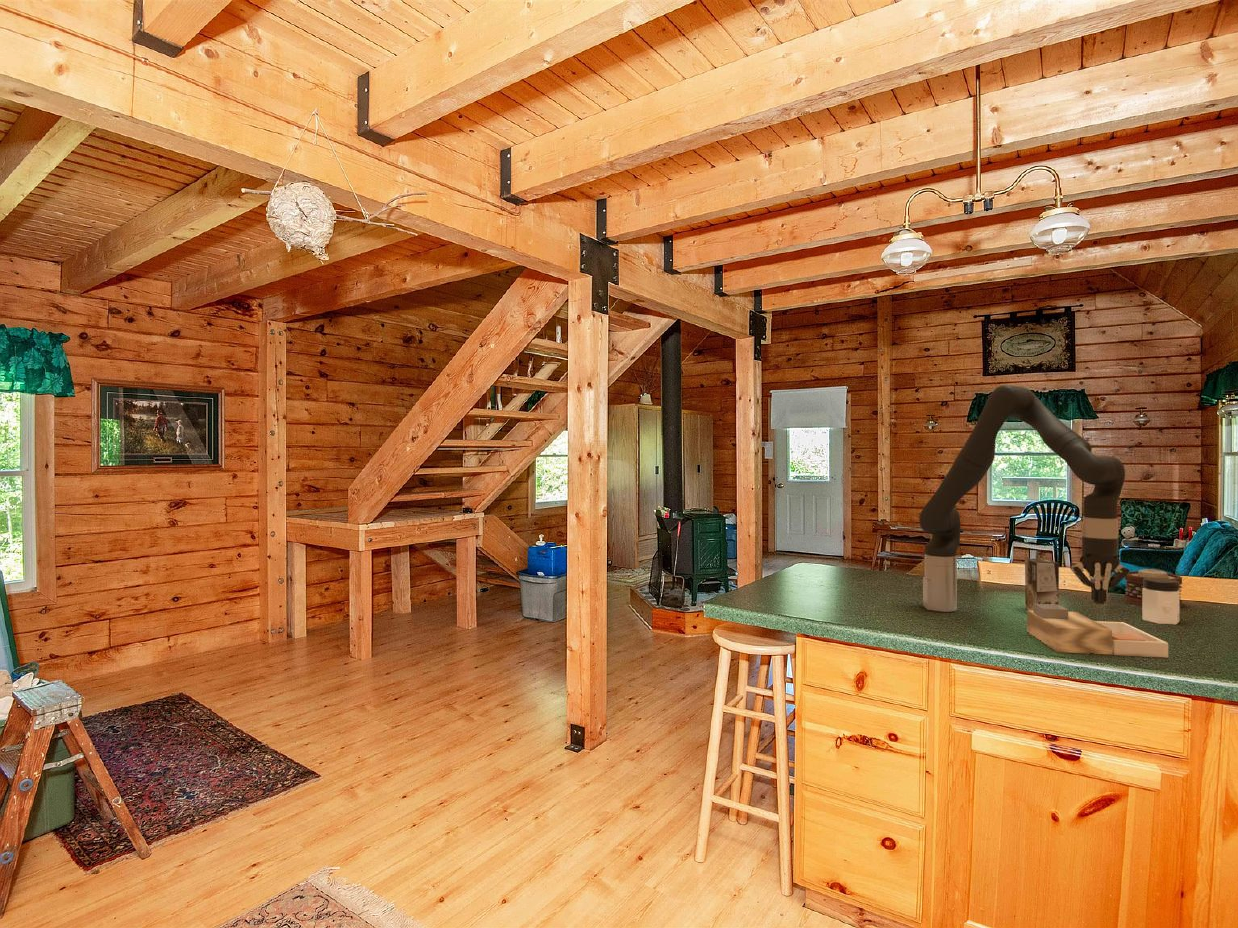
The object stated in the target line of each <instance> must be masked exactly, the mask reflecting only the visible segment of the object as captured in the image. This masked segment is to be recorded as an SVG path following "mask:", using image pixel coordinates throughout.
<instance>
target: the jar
mask: <svg viewBox="0 0 1238 928" xmlns="http://www.w3.org/2000/svg"><path fill="white" fill-rule="evenodd" d="M1179 586H1180V585H1179V582H1178V581H1176V580H1172V579H1166V578H1144V579H1143V587H1144V588H1142V608H1141V611H1142V613H1141V615H1142V616H1141V618H1142V619H1141V620H1143V621H1145V622H1150V623H1154V624H1158V625H1176V626H1177V624H1179V623H1180V608H1179V596H1180V595H1179V593H1180V592H1179Z"/></svg>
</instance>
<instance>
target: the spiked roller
mask: <svg viewBox="0 0 1238 928" xmlns="http://www.w3.org/2000/svg"><path fill="white" fill-rule="evenodd" d="M1144 578H1166V579H1172V580H1176V581H1178V582H1179V609H1181V608H1183V601H1182V600H1181V595H1182V594H1181V593H1182V588H1183V589H1184V587H1183V586H1182V584H1183V577H1182V576H1180V575H1177V574H1172V573H1168V572H1167V571H1164V570H1160V569H1148V568H1147V569H1146V568H1145V569H1140V570H1138V571H1135V570H1134V571H1133V570H1131V571H1129V573H1128V574H1127V575H1126V576H1125V577H1124V580H1125V581H1124V582H1125V583H1124V584H1125V585H1124V586H1125V587H1126V588H1125V589H1124V591H1125V594H1124V602H1125V604H1128V603H1129V605H1131V604H1132V606H1137V607H1142V588H1144V587H1143V579H1144Z"/></svg>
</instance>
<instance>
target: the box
mask: <svg viewBox="0 0 1238 928" xmlns="http://www.w3.org/2000/svg"><path fill="white" fill-rule="evenodd" d="M1094 621H1095V620H1094ZM1095 622H1097V623H1099V624H1101V625H1103V626H1105V627H1107V628H1109V629H1111V630H1112V633H1131V634H1133V635H1136V636H1138V637H1140V638H1142V639H1145V641H1130V640H1112V654H1111V655H1114V656H1123V657H1148V658H1167V659H1168V658H1169V643H1168V642H1167V641H1165V640H1162V639H1160V638H1158V637H1156V636H1154V635H1152V634H1149V633H1147V632H1146V631H1143V630H1141V629H1139V628H1136V627H1135V626H1132V625H1131V624H1128V623H1126V622H1123V621H1103V620H1102V621H1098V620H1097V621H1095Z"/></svg>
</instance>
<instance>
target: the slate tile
mask: <svg viewBox="0 0 1238 928" xmlns="http://www.w3.org/2000/svg"><path fill="white" fill-rule="evenodd" d="M1068 612H1069V609H1068V608H1066V607H1064V606H1062V605H1060V604H1059V605H1058V604H1034V613H1035V614H1036V615H1038V616H1040V617H1042V618H1050V619H1068Z"/></svg>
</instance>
